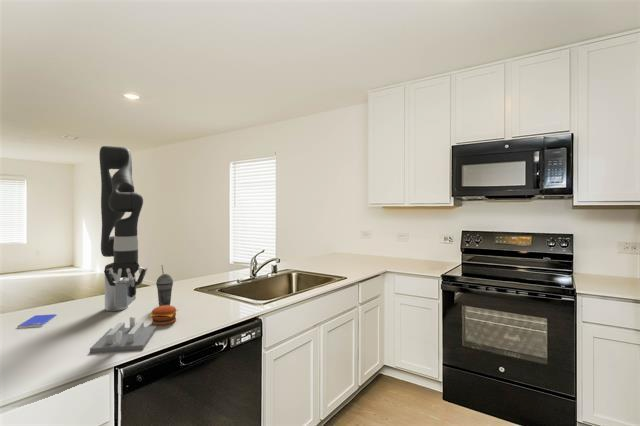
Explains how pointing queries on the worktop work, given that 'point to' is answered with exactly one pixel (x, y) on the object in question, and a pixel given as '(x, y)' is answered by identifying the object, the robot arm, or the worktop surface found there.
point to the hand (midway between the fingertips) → (125, 296)
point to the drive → (123, 293)
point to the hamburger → (163, 315)
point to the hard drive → (37, 321)
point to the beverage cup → (164, 289)
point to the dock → (124, 338)
